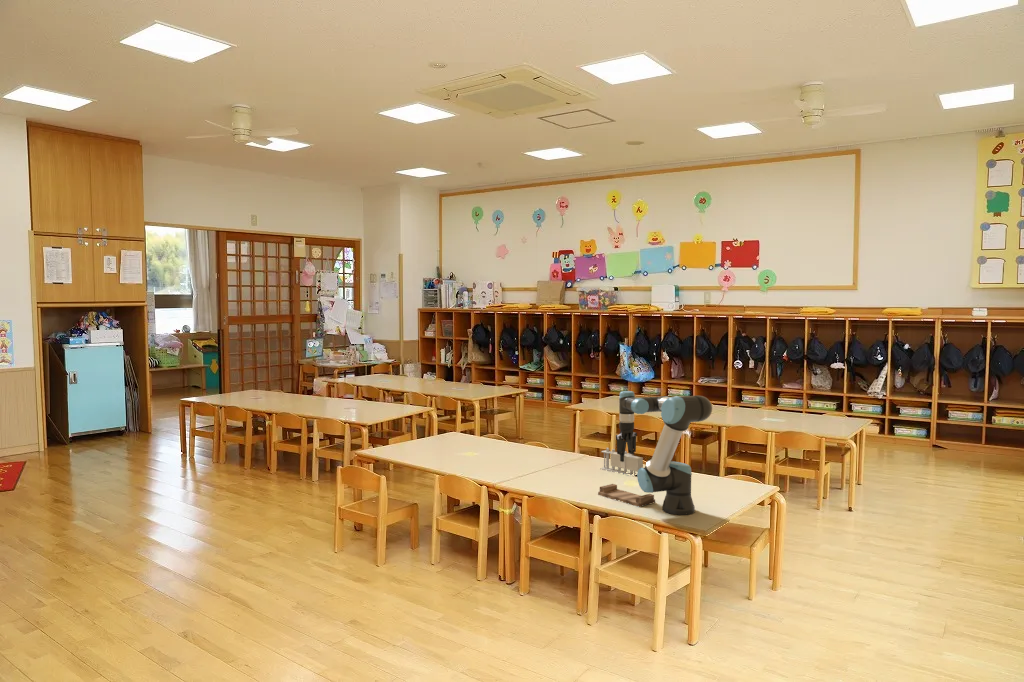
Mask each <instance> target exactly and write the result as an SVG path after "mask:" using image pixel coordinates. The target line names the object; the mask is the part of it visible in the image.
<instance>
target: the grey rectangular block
mask: <svg viewBox="0 0 1024 682" xmlns="http://www.w3.org/2000/svg"><path fill="white" fill-rule="evenodd" d="M625 455H626V468H621V461H620V455H619V454H617V451H615V452H614V453H611V454H610V467H612V466H615V468H618V467H619V468H621V469H623V470H624V469H627V471H628V470H629V471H630V470H632V471H633V472H634V471H635V473H638V470H639V469H640V468H644V458H643V457H642V456H641V457H640V456H637V455H633V456H632V455H628V454H625Z"/></svg>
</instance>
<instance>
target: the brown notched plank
mask: <svg viewBox="0 0 1024 682" xmlns="http://www.w3.org/2000/svg"><path fill="white" fill-rule="evenodd" d="M597 495H598V496H600V497H601V496H602V497H604V496H605V498H608V499H611V498H612V499H611V500H614V499H616V500H615V501H618V500H620V501H619V502H621V501H623V502H622V503H624V502H626V503H625V504H628V503H629V504H628V505H631V504H632V506H636V507H638V506H639V508H641V507H643V505H644V506H647V505H646V504H648V505H651V504H650V503H652V504H654V503H653V502H655V503H656V499H655V494H653V493H652V494H651V493H646V494H643V495H641V494H637V493H632V492H629V491H626V490H622V489H618V484H616V483H610V484H607V485H602V486H599V491H598V493H597ZM640 506H641V507H640Z"/></svg>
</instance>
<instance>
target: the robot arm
mask: <svg viewBox="0 0 1024 682" xmlns="http://www.w3.org/2000/svg"><path fill="white" fill-rule="evenodd" d="M618 400H619V401H618V402H619V404H618V407H619V411H618V412H619V414H618V415H619V423H618V426H619V427H618V429H619V434H616V435H615V439H616V452H617V454H619V455H620V461H621V469H623V468H626V455H625V451H626V446H627V454H628V455H632V456H634V455H635V453H636V449H637V435H638V433H637V432H634V430H635V414H638V415H643V414H645V413H646V414H647V413H658V412H661V413H660V416H661V419H662V422H663V424H664V425H663V428H662V430H661V433H660V436H659V439H658V440H657V444H656V446H655V448H654V452H653V455H652V457H651V459H649V460H647V461H646V464H645V465H644V467H643V468H640V469H639V470H638V472H636V474H637V476H636V477H637V482H638V486H639V488H640V489H641V490H642V492H644V493H646V494H651V493H652V494H653V493H658V492H659V493H660V492H666V493H665V497H664V500H663V503H662V504H661V505H662V510H661V511H663V512H664V513H667V514H670V515H675V514H678V515H677V516H688V515H692V514H695V512H696V511H695V510H696V509H695V505H694V501H693V498H692V476H693V473H692V467H691V466H690V465H689V464H687V463H684V462H680V461H673V458H674V455H675V452H676V450H677V447H678V445H679V443H680V439H681V438H682V435H683V433H684V432H686V431H687V430H688V429H689V427H690V425H691V423H696V422H697V423H698V422H703V421H705V420H707V419H708V418H710V416H711V415H712V412H713V405H712V403H711V401H710V400H709V398H707V397H706V396H703V395H686V396H685V395H684V396H683V395H682V396H678V395H676V396H671V397H670V396H667V395H666V396H665V395H661V396H643V397H636V395H635V392H634V391H631V390H623V391H622V390H621V391H620V392H619V399H618ZM687 514H688V515H687Z"/></svg>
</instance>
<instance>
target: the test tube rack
mask: <svg viewBox="0 0 1024 682" xmlns="http://www.w3.org/2000/svg"><path fill="white" fill-rule="evenodd" d="M614 452H616V449H615V448H612V449H611V451H610V448H609V447H606V449H605V450H601V451H600V453H603V467H601V468H600V470H601V469H602V471H606V470H607V472H611V471H612V472H611V473H615V472H618V473H617V474H620V473H624V474H630V475H632V474H633V473H634V476H635V474H637V472H636V471H632V470H629V472H630V473H626V472H628V469H623V470H622V468H619V467H617V469H616V467H615V466H611V467H610V455H611V453H614ZM627 453H628V450H627V451H626V450H625V454H627ZM624 474H623V475H624ZM634 476H633V477H634ZM635 477H636V476H635Z"/></svg>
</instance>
